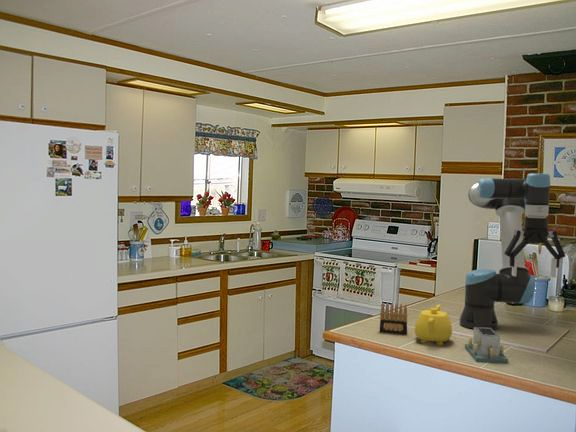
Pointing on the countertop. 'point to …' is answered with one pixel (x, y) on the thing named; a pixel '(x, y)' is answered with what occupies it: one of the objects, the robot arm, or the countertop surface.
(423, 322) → the teapot
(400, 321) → the ammunition clip
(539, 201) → the robot arm
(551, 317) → the countertop surface
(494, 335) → the grey box
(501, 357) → the pegboard
